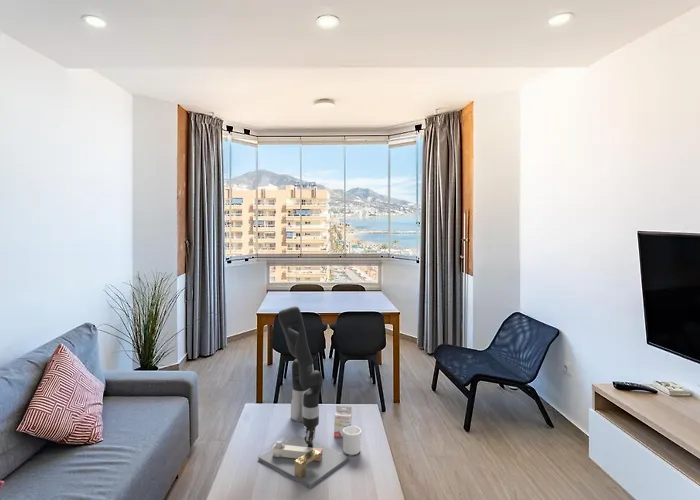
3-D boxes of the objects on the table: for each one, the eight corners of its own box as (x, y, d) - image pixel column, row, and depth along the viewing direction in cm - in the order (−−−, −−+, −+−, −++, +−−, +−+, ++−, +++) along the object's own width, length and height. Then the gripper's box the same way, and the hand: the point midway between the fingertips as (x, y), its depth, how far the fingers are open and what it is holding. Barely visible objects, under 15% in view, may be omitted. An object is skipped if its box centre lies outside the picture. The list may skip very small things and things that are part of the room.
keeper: (294, 478, 174) (294, 460, 173) (312, 466, 183) (313, 449, 183) (301, 482, 171) (301, 463, 171) (319, 469, 181) (319, 452, 180)
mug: (359, 457, 191) (359, 436, 191) (340, 455, 193) (340, 433, 192) (363, 445, 202) (363, 425, 201) (345, 443, 204) (345, 423, 203)
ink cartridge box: (333, 437, 209) (334, 409, 208) (335, 432, 214) (335, 405, 213) (350, 438, 208) (351, 410, 207) (351, 433, 213) (352, 406, 212)
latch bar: (271, 456, 187) (271, 445, 186) (275, 450, 192) (275, 438, 192) (320, 462, 183) (320, 450, 183) (322, 455, 189) (322, 443, 188)
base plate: (258, 460, 187) (258, 457, 187) (298, 437, 208) (298, 434, 208) (310, 488, 168) (310, 484, 168) (348, 460, 189) (348, 457, 188)
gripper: (306, 407, 197) (305, 442, 198) (299, 420, 184) (298, 457, 185) (321, 408, 196) (321, 443, 197) (315, 421, 183) (314, 459, 184)
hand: (310, 450), depth 191 cm, fingers closed
